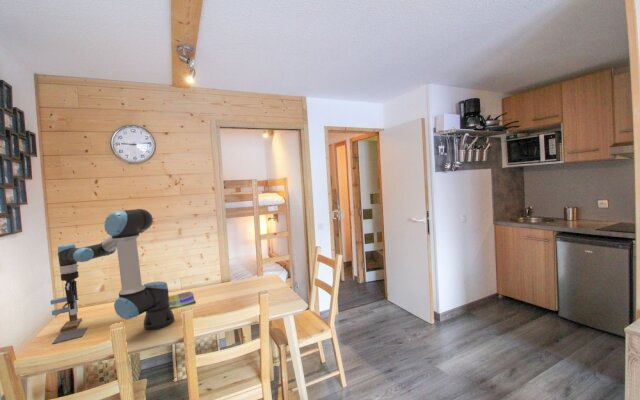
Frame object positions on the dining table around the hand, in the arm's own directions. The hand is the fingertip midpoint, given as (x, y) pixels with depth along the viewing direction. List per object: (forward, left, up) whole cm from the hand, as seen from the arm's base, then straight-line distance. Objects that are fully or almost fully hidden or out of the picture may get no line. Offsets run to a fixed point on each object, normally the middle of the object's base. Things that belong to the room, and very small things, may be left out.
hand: (74, 313), depth 166 cm
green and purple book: (+7, -54, -10) cm, 55 cm away
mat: (-9, 0, -9) cm, 13 cm away
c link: (0, +4, +2) cm, 4 cm away
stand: (+5, +3, -9) cm, 11 cm away
